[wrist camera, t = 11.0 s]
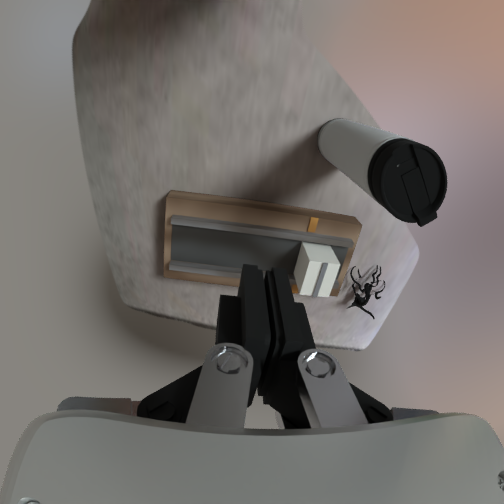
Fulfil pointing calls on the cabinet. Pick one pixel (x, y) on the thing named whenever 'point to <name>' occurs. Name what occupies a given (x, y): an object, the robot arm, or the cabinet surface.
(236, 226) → the fader console
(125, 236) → the cabinet surface
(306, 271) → the fader tab
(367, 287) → the creature
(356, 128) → the travel mug
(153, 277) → the cabinet surface
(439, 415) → the robot arm
